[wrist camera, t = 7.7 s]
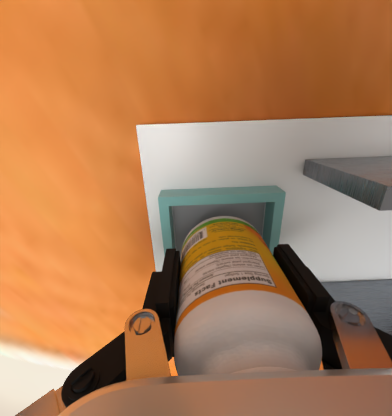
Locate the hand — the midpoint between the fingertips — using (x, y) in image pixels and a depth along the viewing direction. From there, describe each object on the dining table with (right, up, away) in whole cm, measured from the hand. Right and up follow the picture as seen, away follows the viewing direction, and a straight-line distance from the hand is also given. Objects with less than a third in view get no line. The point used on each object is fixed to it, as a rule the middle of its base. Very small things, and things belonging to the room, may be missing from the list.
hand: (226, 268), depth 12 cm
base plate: (+7, +2, +4) cm, 8 cm away
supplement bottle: (0, +1, +2) cm, 2 cm away
